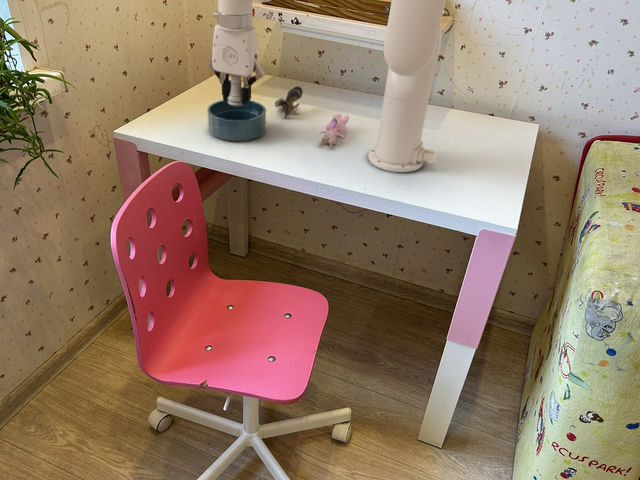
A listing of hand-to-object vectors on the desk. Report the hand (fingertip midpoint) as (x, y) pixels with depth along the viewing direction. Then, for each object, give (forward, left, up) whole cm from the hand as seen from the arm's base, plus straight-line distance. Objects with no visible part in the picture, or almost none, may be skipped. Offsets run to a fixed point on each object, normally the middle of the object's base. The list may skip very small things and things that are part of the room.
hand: (236, 99), depth 135 cm
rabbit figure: (-23, -8, -8) cm, 26 cm away
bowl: (0, 0, -8) cm, 8 cm away
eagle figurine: (-7, -17, -8) cm, 20 cm away
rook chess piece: (0, 0, -1) cm, 1 cm away
